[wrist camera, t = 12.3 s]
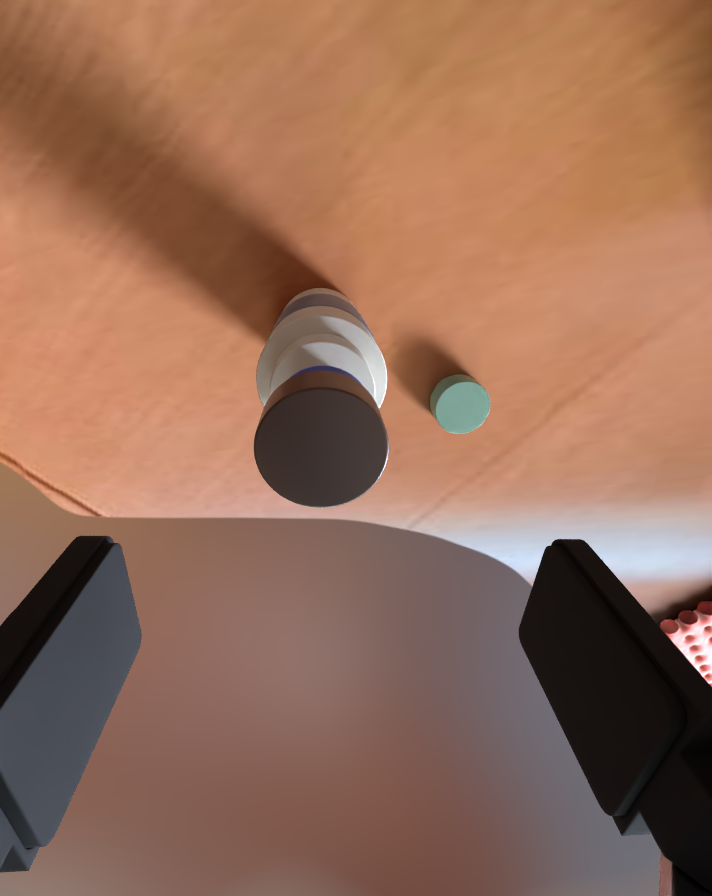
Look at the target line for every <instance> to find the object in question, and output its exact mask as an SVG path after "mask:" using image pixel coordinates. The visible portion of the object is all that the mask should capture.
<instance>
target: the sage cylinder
mask: <svg viewBox="0 0 712 896" xmlns="http://www.w3.org/2000/svg"><path fill="white" fill-rule="evenodd" d="M430 409H431V412H432V414H433V416H434V417H435V419H436V420H437V422H438V423H439V425H440V426H441V427H442V428H443V429H445V430H446V431H448V432H451V433H456V434H462V433H467V432H470V431H472V430H474V429H476V428H477V427H479V426H480V425H481V424H482V423H483V422H484V420H485V419H486V417H487V415H488V413H489V410H490V398H489V395H488V393H487V391H486V390H485V389H484V387H482V386H481V385H480V384H479V383H478V382H477V381H476V380H475V379H473V378H472V377H470V376H467V375H462V374H457V375H452V376H449V377H447V378H445V379H443V380H442V381H440V382H439V383H438V384H437V385H436V387H435V388H434V390H433V392H432V394H431V397H430Z"/></svg>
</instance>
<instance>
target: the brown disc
mask: <svg viewBox="0 0 712 896" xmlns="http://www.w3.org/2000/svg"><path fill="white" fill-rule="evenodd" d="M388 453H389V441H388V435H387V431H386V428H385V425H384V422H383V419H382V417H381V414H380V411H379V408H378V406H377V403H376V402H375V400H374V398H373V397H372V395H371V394H370V393H369V391H368V390H367V389H366V388H365V387H364V386H363V385H361V384H360V383H359V382H357V381H356V380H354V379H352V378H351V377H349V376H346V375H344V374H341V373H337V372H333V371H325V370H317V371H309V372H305V373H301V374H298V375H296V376H293V377H292V378H290V379H288V380H286V381H285V382H283V383H282V384H281V385H280V386H278V387H277V389H276V390H275V391H274V392H273V393H272V394H271V396H270V397H269V399H268V400H267V402H266V404H265V407H264V409H263V412H262V415H261V418H260V421H259V424H258V427H257V430H256V434H255V439H254V456H255V460H256V464H257V467H258V469H259V471H260V473H261V475H262V477H263V478H264V480H265V481H266V482H267V483H268V485H269V486H270V487H271V488H272V489H273V490H274V491H276V492H277V493H278V494H279V495H281V496H282V497H284V498H286V499H288V500H290V501H292V502H294V503H297V504H300V505H304V506H309V507H318V508H321V507H333V506H338V505H342V504H345V503H348V502H351V501H353V500H355V499H357V498H358V497H360V496H361V495H363V494H364V493H366V492H367V491H368V490H369V489H370V488H371V487H372V486H373V485H374V484H375V483H376V482H377V480H378V479H379V477H380V476H381V474H382V472H383V470H384V468H385V465H386V462H387V458H388Z"/></svg>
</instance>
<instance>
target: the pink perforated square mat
mask: <svg viewBox="0 0 712 896" xmlns="http://www.w3.org/2000/svg"><path fill="white" fill-rule="evenodd" d="M660 628H661V629H662V630H663V631H664V632H665V634H666V635H667V636H668V637H669V638H670V639H671V640H672V642H673V643H674V644H675V645H676V646H677V647H678V649H679V650H680V651H681V652H682V653H683V654H684V655H685V657H686V658H687V659H688V660H689V661H690V662H691V663H692V665H693V666H694V667H695V668H696V669H697V670H698V672H699V673H700V674H701V675H702V676H703V677H704V678H705V680H706V681H707V682H708V683H709V684H710V685H711V687H712V602H710V601H703V602H700V603H699V604H698V606H697V609H696V610H694V611H689V610H685V611H682V612H680V613H679V616H678V618H677V619H676V620H670V619H666V620H663V621H662V622H661V623H660Z"/></svg>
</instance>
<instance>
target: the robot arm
mask: <svg viewBox="0 0 712 896" xmlns="http://www.w3.org/2000/svg"><path fill="white" fill-rule="evenodd" d="M519 639H520V642H521V645H522V647H523V649H524V651H525V653H526V655H527V657H528V659H529V661H530V664H531V665H532V667H533V669H534V672H535V674H536V676H537V678H538V680H539V682H540V684H541V686H542V688H543V690H544V692H545V694H546V696H547V698H548V700H549V702H550V704H551V706H552V709H553V710H554V713H555V715H556V717H557V719H558V721H559V723H560V725H561V727H562V729H563V731H564V733H565V735H566V737H567V739H568V741H569V744H570V745H571V748H572V750H573V752H574V754H575V756H576V758H577V760H578V762H579V764H580V766H581V768H582V770H583V772H584V774H585V776H586V778H587V780H588V783H589V784H590V787H591V789H592V791H593V793H594V795H595V797H596V799H597V801H598V803H599V805H600V806H601V808H602V809H603V810H604V812H605V813H606V814H608V815H609V816H612V817H613V819H614V821H615V823H616V825H617V827H618V829H619V831H620V833H621V835H622V836H627V835H644V834H650V833H652V835H653V837H654V839H655V841H656V843H657V845H658V846H659V848H660V850H661V862H660V881H659V896H712V687H711V685H710V684H709V683H708V682H707V681H706V680H705V678H704V677H703V676H702V675H701V674H700V673H699V672H698V670H697V669H696V668H695V667H694V666H693V665H692V663H691V662H690V661H689V660H688V659H687V658H686V657H685V655H684V654H683V653H682V652H681V651H680V650H679V649H678V647H677V646H676V645H675V644H674V643H673V642H672V640H671V639H670V638H669V637H668V636H667V635H666V634H665V632H664V631H663V630H662V629H661V628H660V627H659V625H658V624H657V623H656V622H655V621H654V620H653V619H652V617H651V616H650V615H649V614H648V613H647V612H646V610H645V609H644V608H643V607H642V606H641V605H640V604H639V602H638V601H637V600H636V599H635V598H634V597H633V596H632V594H631V593H630V592H629V591H628V590H627V589H626V587H625V586H624V585H623V584H622V583H621V582H620V581H619V579H618V578H617V577H616V576H615V575H614V574H613V572H612V571H611V570H610V569H609V568H608V567H607V566H606V564H605V563H604V562H603V561H602V560H601V559H600V558H599V556H598V555H597V554H596V553H595V552H594V551H593V549H592V548H591V547H590V546H589V545H588V544H587V543H586V542H585V541H584V540H581V539H557V540H555V541H553V542H552V544H551V546H547V547H546V549H545V551H544V554H543V557H542V560H541V563H540V566H539V569H538V572H537V575H536V578H535V581H534V584H533V587H532V590H531V593H530V596H529V599H528V602H527V605H526V608H525V611H524V614H523V618H522V621H521V624H520V627H519ZM140 643H141V629H140V625H139V620H138V616H137V611H136V607H135V603H134V598H133V594H132V590H131V585H130V581H129V577H128V572H127V568H126V564H125V559H124V555H123V551H122V547H121V545H120V544H118V543H114V542H113V540H112V538H111V537H109V536H79V537H76V538H75V539H74V540H73V541H72V542H71V544H70V545H69V546H68V547H67V548H66V550H65V551H64V552H63V553H62V554H61V555H60V557H59V558H58V559H57V560H56V561H55V563H54V564H53V565H52V566H51V567H50V569H49V570H48V571H47V572H46V573H45V575H44V576H43V577H42V578H41V579H40V581H39V582H38V583H37V584H36V585H35V587H34V588H33V589H32V590H31V591H30V592H29V594H28V595H27V596H26V597H25V598H24V600H23V601H22V602H21V603H20V604H19V606H18V607H17V608H16V609H15V610H14V611H13V612H12V613H11V614H10V615H9V616H8V618H7V619H6V620H5V621H4V622H3V624H2V625H1V626H0V872H15V871H29V869H30V867H31V865H32V863H33V860H34V858H35V856H36V854H37V852H38V850H39V848H40V847H44V846H46V845H47V844H48V843H49V842H50V841H51V840H52V838H53V837H54V835H55V833H56V831H57V829H58V827H59V825H60V822H61V820H62V818H63V816H64V814H65V812H66V809H67V807H68V805H69V803H70V801H71V798H72V796H73V794H74V792H75V790H76V787H77V785H78V783H79V781H80V778H81V776H82V774H83V772H84V770H85V768H86V765H87V763H88V761H89V759H90V756H91V754H92V752H93V750H94V748H95V745H96V743H97V741H98V739H99V737H100V734H101V732H102V730H103V728H104V726H105V723H106V721H107V719H108V717H109V714H110V712H111V710H112V708H113V706H114V703H115V701H116V699H117V697H118V695H119V692H120V690H121V688H122V686H123V684H124V681H125V679H126V677H127V675H128V673H129V671H130V668H131V666H132V664H133V662H134V659H135V657H136V655H137V653H138V650H139V647H140Z"/></svg>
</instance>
